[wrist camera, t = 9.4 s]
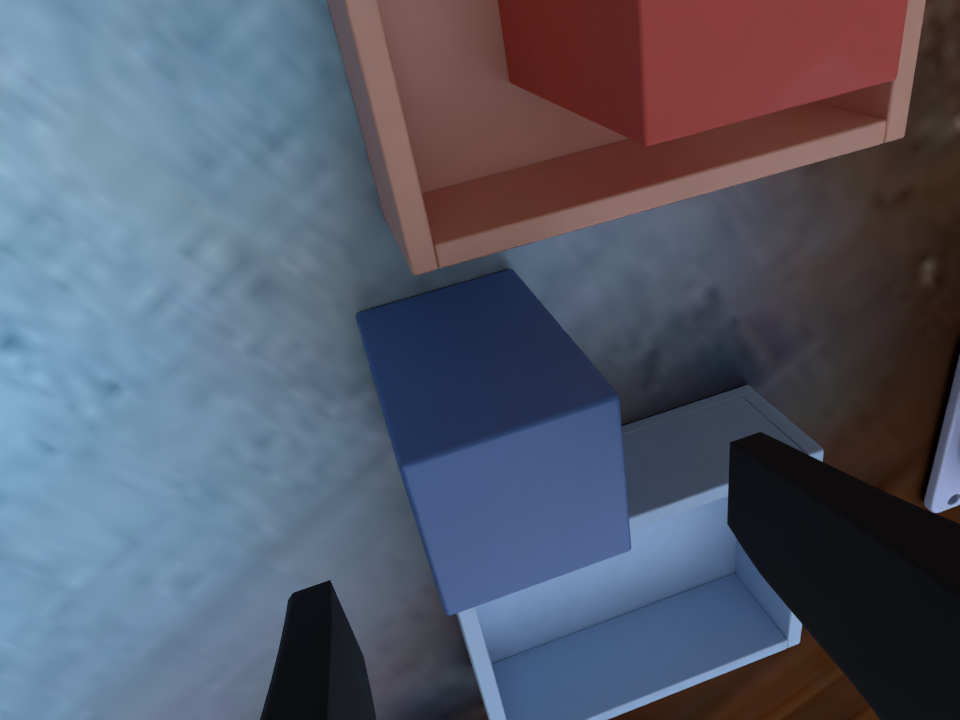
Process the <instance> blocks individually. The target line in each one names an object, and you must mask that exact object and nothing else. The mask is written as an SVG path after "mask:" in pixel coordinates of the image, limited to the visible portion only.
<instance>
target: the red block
mask: <svg viewBox="0 0 960 720" xmlns="http://www.w3.org/2000/svg"><path fill="white" fill-rule="evenodd" d="M498 4H499V11H500V18H501V25H502V32H503V39H504V46H505V53H506V60H507V67H508V74H509V81H510V83H511V84H513V85H516V86H518V87H520V88H522V89H524V90H526V91H528V92H531V93H533V94H535V95H537V96H539V97H541V98H543V99H545V100H548V101H550V102H552V103H554V104H556V105H558V106H560V107H563V108H565V109H567V110H569V111H571V112H573V113H575V114H577V115H580V116H582V117H584V118H586V119H588V120H590V121H592V122H595V123H597V124H599V125H601V126H603V127H605V128H607V129H609V130H612V131H614V132H616V133H618V134H620V135H622V136H624V137H627V138H629V139H631V140H633V141H635V142H637V143H639V144H642V145H644V146H651V145H655V144H659V143H663V142H666V141H670V140H674V139H677V138H681V137H685V136H689V135H692V134H696V133H700V132H704V131H707V130H711V129H715V128H718V127H722V126H726V125H730V124H733V123H737V122H741V121H744V120H748V119H752V118H756V117H759V116H763V115H767V114H771V113H774V112H778V111H782V110H785V109H789V108H793V107H797V106H800V105H804V104H808V103H812V102H815V101H819V100H823V99H826V98H830V97H834V96H838V95H841V94H845V93H849V92H852V91H856V90H860V89H864V88H867V87H871V86H875V85H879V84H882V83H886V82H890V81H893V80H895V79H896V77H897V74H898V67H899V60H900V53H901V46H902V40H903V33H904V26H905V19H906V12H907V5H908V0H498Z"/></svg>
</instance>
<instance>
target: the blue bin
mask: <svg viewBox="0 0 960 720" xmlns="http://www.w3.org/2000/svg"><path fill="white" fill-rule="evenodd" d="M758 432H762V433H764V434H767V435H769V436H771V437H773V438H775V439H777V440H779V441H781V442H783V443H785V444H787V445H789V446H792V447H794V448H796V449H798V450H800V451H802V452H804V453H806V454H808V455H810V456H812V457H814V458H816V459H818V460H820V461H822V462H823V454H824V449H823V448H822V447H821V446H819V445H818V444H817V443H816V442H815V441H814V440H812V439H811V438H810V437H809V436H808V435H807V434H805V433H804V432H803V431H802V430H801V429H800V428H798V427H797V426H796V425H795V424H794V423H792V422H791V421H790V420H789V419H788V418H787V417H785V416H784V415H783V414H782V413H781V412H780V411H778V410H777V409H776V408H775V407H774V406H773V405H771V404H770V403H769V402H768V401H767V400H766V399H764V398H763V397H762V396H761V395H760V394H758V393H757V392H755V390H754V389H753V388H752V387H751V386H749V385H745V386H742V387H739V388H736V389H733V390H730V391H727V392H724V393H721V394H718V395H715V396H712V397H709V398H706V399H703V400H700V401H697V402H694V403H691V404H688V405H685V406H682V407H679V408H676V409H673V410H670V411H667V412H664V413H661V414H658V415H655V416H652V417H649V418H646V419H643V420H640V421H637V422H634V423H631V424H628V425H625V426H622V436H623V449H624V461H625V474H626V486H627V499H628V512H629V524H630V537H631V550H630V551H628V552H626V553H623V554H620V555H617V556H614V557H612V558H609V559H606V560H603V561H601V562H598V563H595V564H592V565H589V566H587V567H584V568H581V569H578V570H576V571H573V572H570V573H567V574H564V575H562V576H559V577H556V578H553V579H551V580H548V581H545V582H542V583H539V584H537V585H534V586H531V587H528V588H526V589H523V590H520V591H517V592H514V593H512V594H509V595H506V596H503V597H501V598H498V599H495V600H492V601H489V602H487V603H484V604H481V605H478V606H476V607H473V608H470V609H467V610H464V611H462V612H459V613H456V615H457V618H458V621H459V625H460V628H461V631H462V635H463V638H464V641H465V645H466V648H467V651H468V654H469V658H470V661H471V664H472V668H473V671H474V674H475V677H476V681H477V684H478V687H479V690H480V694H481V697H482V700H483V703H484V706H485V710H486V713H487V716H488V719H489V720H608V719H610V718H613V717H615V716H618V715H620V714H623V713H625V712H628V711H630V710H633V709H636V708H638V707H641V706H643V705H646V704H648V703H651V702H653V701H656V700H658V699H661V698H663V697H666V696H668V695H671V694H673V693H676V692H678V691H681V690H683V689H686V688H688V687H691V686H694V685H696V684H699V683H701V682H704V681H706V680H709V679H711V678H714V677H716V676H719V675H721V674H724V673H726V672H729V671H731V670H734V669H736V668H739V667H741V666H744V665H746V664H749V663H752V662H754V661H757V660H759V659H762V658H764V657H767V656H769V655H772V654H774V653H777V652H779V651H782V650H784V649H786V648H789V647H791V646H794V645H796V644H799V643H800V637H801V629H802V623H801V622H800V621H799V620H798V619H797V617H796V616H795V615H794V614H793V613H792V612H791V610H790V609H789V608H788V607H787V606H786V604H785V603H784V602H783V601H782V600H781V598H780V597H779V596H778V595H777V594H776V593H775V591H774V590H773V589H772V588H771V587H770V585H769V584H768V583H767V582H766V581H765V579H764V578H763V577H762V576H761V574H760V573H759V572H758V570H757V569H756V567H755V566H754V564H753V563H752V561H751V560H750V559H749V557H748V556H747V554H746V553H745V551H744V550H743V548H742V546H741V545H740V543H739V542H738V540H737V539H736V537H735V535H734V534H733V532H732V531H731V529H730V528H729V526H728V524H727V515H728V483H729V452H730V442H732V441H735V440H738V439H741V438H744V437H747V436H750V435H752V434H755V433H758Z"/></svg>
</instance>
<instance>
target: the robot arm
mask: <svg viewBox="0 0 960 720" xmlns="http://www.w3.org/2000/svg"><path fill="white" fill-rule="evenodd" d="M924 505H925V506H926V507H927V508H928V509H929V510H930V511H931V512H929V511H927V510H924V509H922V508H920V507H918V506H915V505H913V504H911V503H908V502H906V501H904V500H902V499H899V498H897V497H895V496H893V495H891V494H889V493H886V492H884V491H882V490H880V489H878V488H876V487H873V486H871V485H869V484H867V483H865V482H863V481H861V480H859V479H857V478H855V477H852V476H850V475H848V474H846V473H844V472H842V471H840V470H838V469H836V468H834V467H832V466H830V465H828V464H826V463H824V462H822V461H820V460H818V459H816V458H814V457H812V456H810V455H808V454H806V453H804V452H802V451H800V450H798V449H796V448H794V447H792V446H789V445H787V444H785V443H783V442H781V441H779V440H777V439H775V438H773V437H771V436H769V435H767V434H764V433H762V432H758V433H755V434H752V435H750V436H747V437H744V438H741V439H738V440H735V441H732V442H730V452H729V483H728V515H727V524H728V526H729V528H730V529H731V531H732V532H733V534H734V535H735V537H736V539H737V540H738V542H739V543H740V545H741V546H742V548H743V550H744V551H745V553H746V554H747V556H748V557H749V559H750V560H751V561H752V563H753V564H754V566H755V567H756V569H757V570H758V572H759V573H760V574H761V576H762V577H763V578H764V579H765V581H766V582H767V583H768V584H769V585H770V587H771V588H772V589H773V590H774V591H775V593H776V594H777V595H778V596H779V597H780V598H781V600H782V601H783V602H784V603H785V604H786V606H787V607H788V608H789V609H790V610H791V612H792V613H793V614H794V615H795V616H796V617H797V619H798V620H799V621H800V622H801V623H802V624H803V626H804V627H805V628H806V629H807V630H808V631H809V633H810V634H811V635H812V636H813V637H814V638H815V640H816V641H817V642H818V643H819V644H820V646H821V647H822V648H823V649H824V650H825V651H826V653H827V654H828V655H829V656H830V657H831V658H832V660H833V661H834V662H835V663H836V664H837V665H838V667H839V668H840V669H841V670H842V671H843V672H844V674H845V675H846V676H847V677H848V678H849V679H850V681H851V682H852V683H853V685H854V686H855V687H856V688H857V690H858V691H859V692H860V693H861V695H862V696H863V697H864V698H865V700H866V701H867V702H868V703H869V705H870V706H871V708H872V709H873V710H874V712H875V713H876V715H877V716H878V717H879V719H880V720H960V524H958V523H956V522H953V521H951V520H948V519H946V518H944V517H941V516H939V515H936V514H934V513H938V512H942V511H944V510H947V509H950V508H952V507H955V506H958V505H960V355H959V359H958V363H957V367H956V371H955V375H954V379H953V384H952V388H951V392H950V396H949V400H948V404H947V408H946V413H945V417H944V421H943V425H942V429H941V433H940V437H939V442H938V446H937V450H936V454H935V458H934V462H933V466H932V471H931V475H930V479H929V483H928V487H927V491H926V495H925V500H924ZM932 512H934V513H932ZM260 720H376V714H375V709H374V704H373V699H372V694H371V689H370V685H369V680H368V675H367V670H366V666H365V661H364V656H363V654H362V652H361V650H360V647H359V645H358V643H357V640H356V638H355V636H354V634H353V631H352V629H351V627H350V624H349V622H348V620H347V618H346V615H345V613H344V611H343V608H342V606H341V604H340V602H339V599H338V597H337V595H336V592H335V590H334V588H333V586H332V583H331V581H330V580H329V581H326V582H323V583H320V584H318V585H315V586H312V587H309V588H306V589H303V590H300V591H297V592H294V593H293V594H292V595H291V597H290V598H289V600H288V605H287V611H286V617H285V622H284V627H283V632H282V637H281V642H280V646H279V650H278V655H277V659H276V663H275V667H274V671H273V675H272V679H271V683H270V686H269V690H268V694H267V697H266V701H265V704H264V708H263V711H262V715H261V718H260Z"/></svg>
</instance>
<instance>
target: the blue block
mask: <svg viewBox="0 0 960 720" xmlns="http://www.w3.org/2000/svg"><path fill="white" fill-rule="evenodd" d="M356 320H357V324H358V327H359V331H360V334H361V338H362V341H363V345H364V348H365V352H366V355H367V359H368V362H369V366H370V369H371V373H372V376H373V380H374V383H375V387H376V390H377V394H378V397H379V400H380V404H381V407H382V411H383V414H384V418H385V421H386V425H387V428H388V432H389V435H390V439H391V442H392V446H393V449H394V453H395V456H396V460H397V463H398V467H399V470H400V473H401V476H402V479H403V483H404V486H405V489H406V492H407V495H408V498H409V502H410V505H411V508H412V511H413V514H414V517H415V521H416V524H417V527H418V530H419V533H420V536H421V540H422V543H423V546H424V549H425V552H426V555H427V559H428V562H429V565H430V568H431V571H432V574H433V578H434V581H435V584H436V587H437V590H438V593H439V597H440V600H441V603H442V606H443V609H444V612H445V613H446V614H447V615H448V616H449V615H453V614H456V613H459V612H462V611H464V610H467V609H470V608H473V607H476V606H478V605H481V604H484V603H487V602H489V601H492V600H495V599H498V598H501V597H503V596H506V595H509V594H512V593H514V592H517V591H520V590H523V589H526V588H528V587H531V586H534V585H537V584H539V583H542V582H545V581H548V580H551V579H553V578H556V577H559V576H562V575H564V574H567V573H570V572H573V571H576V570H578V569H581V568H584V567H587V566H589V565H592V564H595V563H598V562H601V561H603V560H606V559H609V558H612V557H614V556H617V555H620V554H623V553H626V552H628V551H630V550H631V537H630V524H629V512H628V499H627V486H626V474H625V461H624V449H623V436H622V424H621V411H620V398H619V395H618V394H617V392H616V391H615V390H614V389H613V388H612V386H611V385H610V384H609V383H608V382H607V381H606V379H605V378H604V377H603V376H602V375H601V373H600V372H599V371H598V370H597V369H596V368H595V366H594V365H593V364H592V363H591V362H590V360H589V359H588V358H587V357H586V356H585V355H584V353H583V352H582V351H581V350H580V349H579V347H578V346H577V345H576V344H575V343H574V341H573V340H572V339H571V338H570V337H569V336H568V334H567V333H566V332H565V331H564V330H563V328H562V327H561V326H560V325H559V324H558V323H557V321H556V320H555V319H554V318H553V317H552V315H551V314H550V313H549V312H548V311H547V309H546V308H545V307H544V306H543V305H542V304H541V302H540V301H539V300H538V299H537V298H536V296H535V295H534V294H533V293H532V292H531V291H530V289H529V288H528V287H527V286H526V285H525V283H524V282H523V281H522V280H521V279H520V278H519V276H518V275H517V274H516V273H515V272H514V270H512V269H509V270H506V271H502V272H499V273H495V274H492V275H488V276H485V277H482V278H478V279H475V280H471V281H468V282H464V283H461V284H457V285H454V286H450V287H447V288H443V289H440V290H436V291H433V292H429V293H426V294H422V295H419V296H415V297H412V298H409V299H405V300H402V301H398V302H395V303H391V304H388V305H384V306H381V307H377V308H374V309H370V310H367V311H363V312H360V313H358V314H356Z"/></svg>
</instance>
